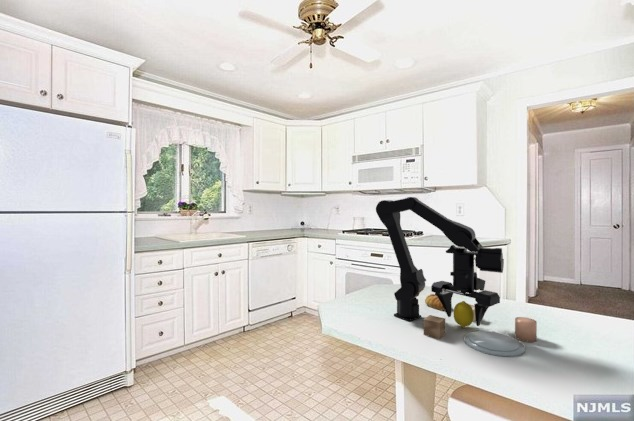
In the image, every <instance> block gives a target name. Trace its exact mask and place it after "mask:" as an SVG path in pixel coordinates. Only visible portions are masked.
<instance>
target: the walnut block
mask: <svg viewBox="0 0 634 421" xmlns="http://www.w3.org/2000/svg"><path fill="white" fill-rule="evenodd" d="M423 335H424V336H428V337H431V338H434V339H437V340H440V339H441V338H442V337H444V336H445V335H446V318H444V317H440V316H436V315H432V314H431V315H427V316H426V317H425V318H423Z"/></svg>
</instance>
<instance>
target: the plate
mask: <svg viewBox="0 0 634 421" xmlns="http://www.w3.org/2000/svg"><path fill="white" fill-rule="evenodd" d="M463 340H464V341H463V342H464V343H465V344H466V345H467V346H468V347H470V348H471V349H473V350H475V351H478V352H480V353H483V354H487V355H491V356H498V357H507V358H509V357H518V356H521V355H523V354H524V353H525V352H526V346H525V344H524V343H522V342H521V340H519V339H517V338H514V337H513V336H510V335H507V334H504V333H501V332H496V331H489V330H476V331H472V332H468V333H466V334H465V335H464V339H463Z"/></svg>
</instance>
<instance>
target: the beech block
mask: <svg viewBox="0 0 634 421" xmlns="http://www.w3.org/2000/svg"><path fill="white" fill-rule="evenodd" d="M468 304H469V303H468ZM469 305H470V306H471V307H472V309H473V313H474V319H473V322H472V323H474V322H476V318H475V306H474V305H472V304H469Z"/></svg>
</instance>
